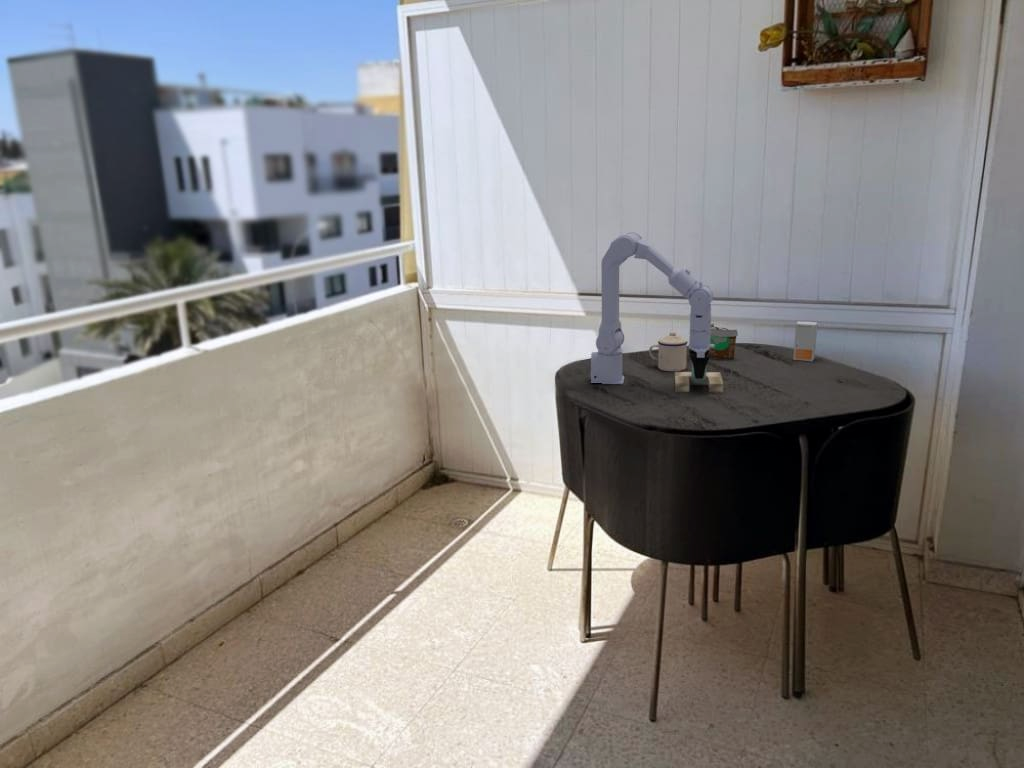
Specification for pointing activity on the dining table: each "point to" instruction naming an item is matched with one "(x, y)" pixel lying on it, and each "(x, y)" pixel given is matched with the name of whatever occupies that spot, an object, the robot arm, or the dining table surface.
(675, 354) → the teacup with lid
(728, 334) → the food container
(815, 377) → the dining table surface
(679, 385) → the notched board
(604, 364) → the robot arm
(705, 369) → the teal peg
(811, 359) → the skincare box
